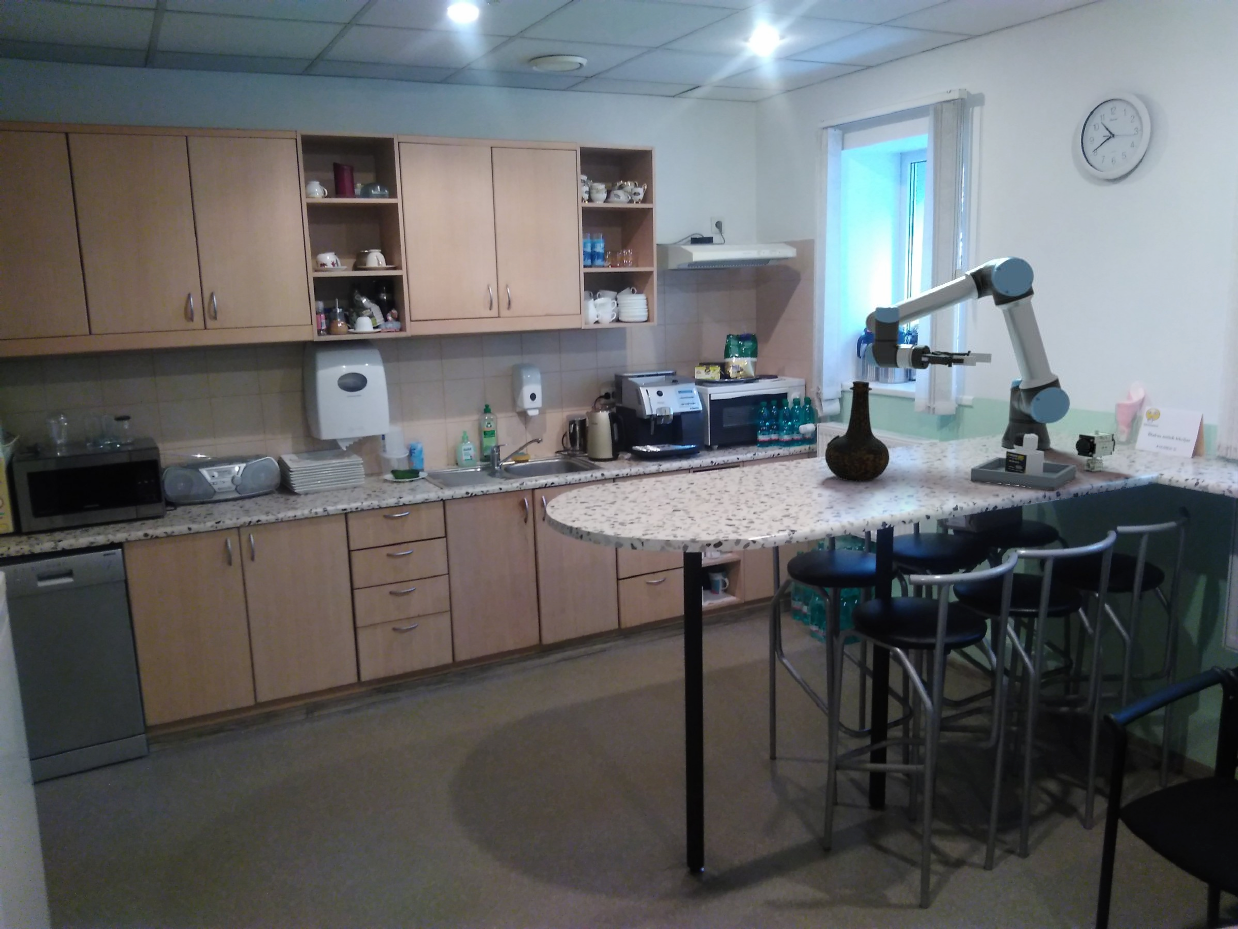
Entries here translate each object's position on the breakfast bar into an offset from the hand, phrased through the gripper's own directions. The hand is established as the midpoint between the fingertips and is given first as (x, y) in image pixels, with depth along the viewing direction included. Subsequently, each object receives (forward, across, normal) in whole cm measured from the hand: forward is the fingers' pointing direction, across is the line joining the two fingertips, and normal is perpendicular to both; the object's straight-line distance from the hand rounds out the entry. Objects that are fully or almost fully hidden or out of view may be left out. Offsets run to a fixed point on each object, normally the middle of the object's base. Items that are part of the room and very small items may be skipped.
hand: (983, 359), depth 274 cm
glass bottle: (-20, +41, -32) cm, 56 cm away
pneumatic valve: (+31, -10, -32) cm, 46 cm away
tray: (+18, +14, -32) cm, 39 cm away
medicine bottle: (+18, +14, -31) cm, 38 cm away
